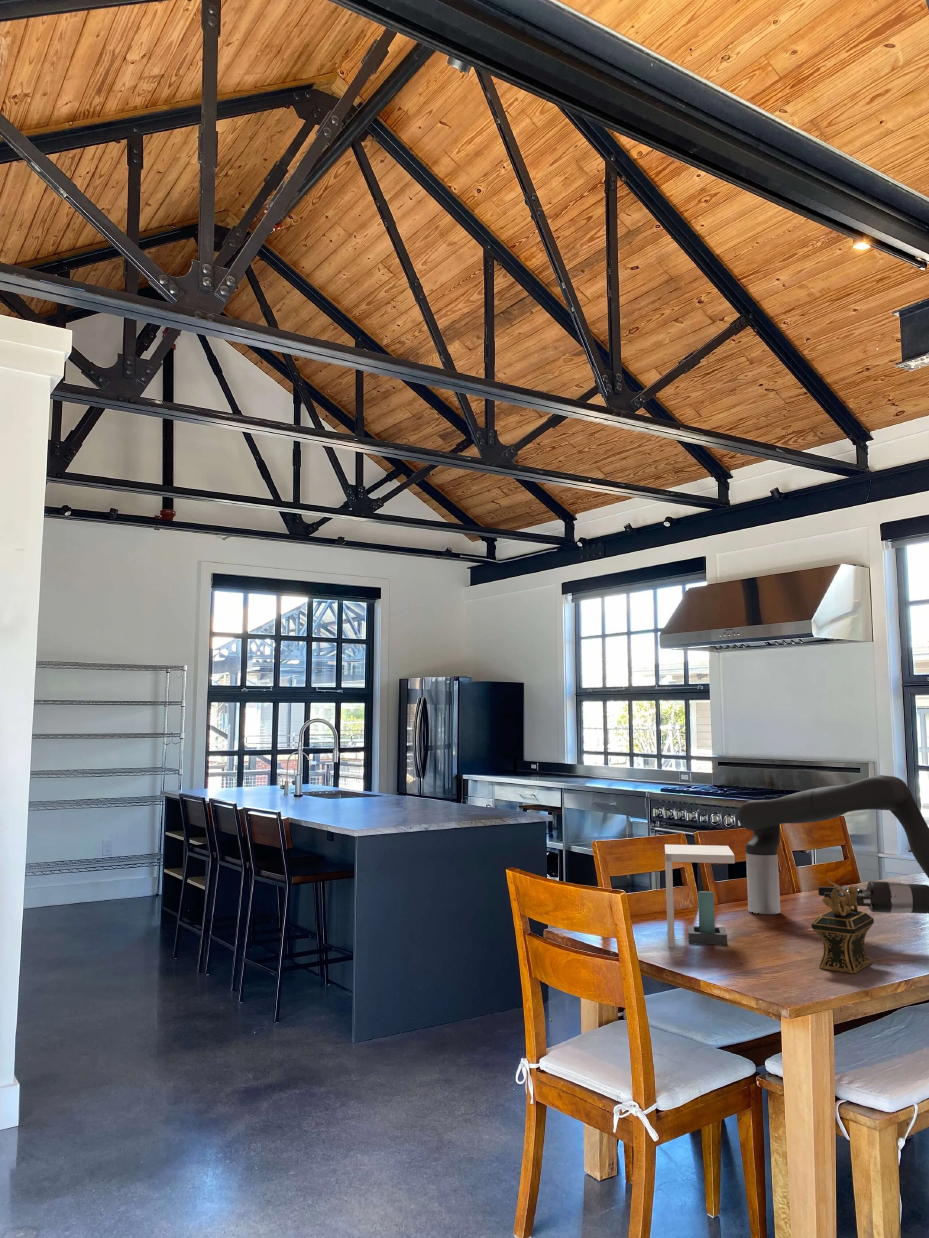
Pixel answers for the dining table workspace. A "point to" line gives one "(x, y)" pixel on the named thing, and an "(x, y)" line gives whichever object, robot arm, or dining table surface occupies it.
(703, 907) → the peg
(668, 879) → the white inverted l bracket
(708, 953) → the dining table surface
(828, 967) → the decorative box
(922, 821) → the robot arm
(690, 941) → the socket
